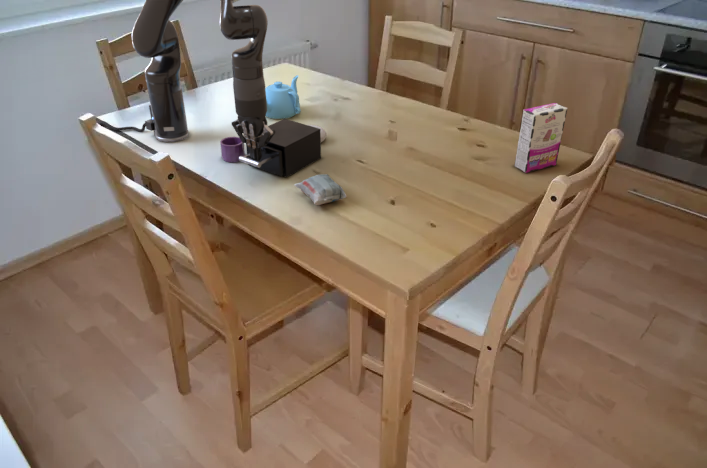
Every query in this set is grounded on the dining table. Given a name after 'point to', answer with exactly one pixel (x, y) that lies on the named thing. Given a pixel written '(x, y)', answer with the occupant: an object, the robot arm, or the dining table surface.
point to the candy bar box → (540, 137)
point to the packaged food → (321, 189)
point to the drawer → (267, 159)
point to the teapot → (282, 100)
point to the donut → (322, 131)
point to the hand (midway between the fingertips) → (255, 160)
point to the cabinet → (296, 144)
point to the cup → (232, 149)
